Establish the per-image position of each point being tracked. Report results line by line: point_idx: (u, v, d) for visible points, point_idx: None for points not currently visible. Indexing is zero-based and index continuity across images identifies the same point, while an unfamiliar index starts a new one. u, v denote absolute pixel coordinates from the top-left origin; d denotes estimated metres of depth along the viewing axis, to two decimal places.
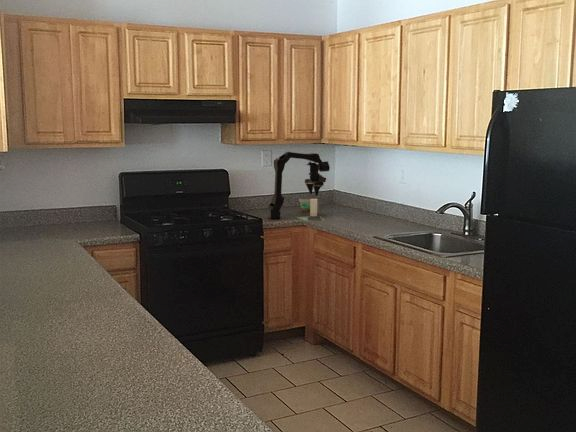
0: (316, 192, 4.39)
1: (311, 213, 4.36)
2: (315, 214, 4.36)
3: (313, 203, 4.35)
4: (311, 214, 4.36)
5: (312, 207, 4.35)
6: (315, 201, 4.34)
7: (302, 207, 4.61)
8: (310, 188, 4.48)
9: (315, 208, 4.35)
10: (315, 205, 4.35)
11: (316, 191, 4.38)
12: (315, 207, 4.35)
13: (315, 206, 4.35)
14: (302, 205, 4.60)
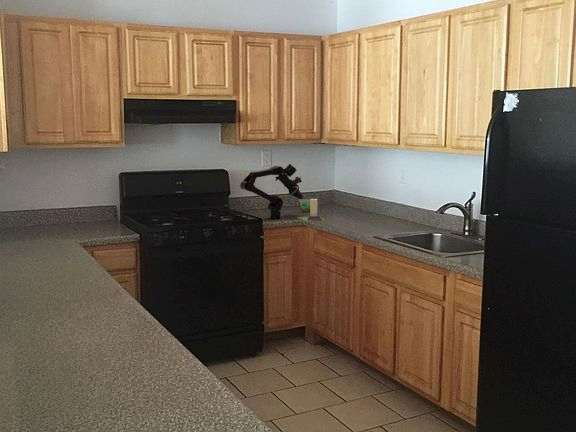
0: (299, 197, 4.31)
1: (311, 213, 4.36)
2: (315, 214, 4.36)
3: (313, 203, 4.35)
4: (311, 214, 4.36)
5: (312, 207, 4.35)
6: (315, 201, 4.34)
7: (302, 207, 4.61)
8: None
9: (315, 208, 4.35)
10: (315, 205, 4.35)
11: (298, 196, 4.31)
12: (315, 207, 4.35)
13: (315, 206, 4.35)
14: (302, 205, 4.60)
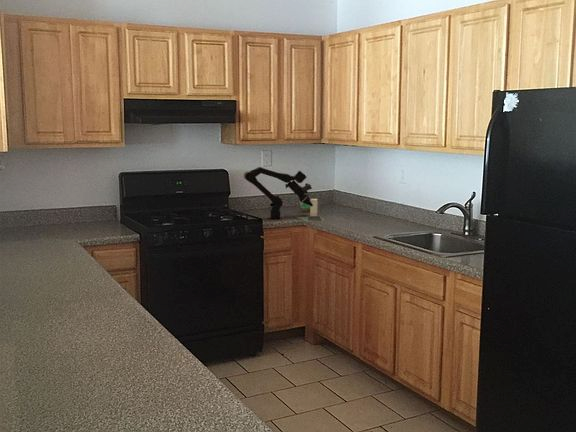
0: (309, 204, 4.32)
1: (311, 213, 4.36)
2: (315, 214, 4.36)
3: (313, 203, 4.35)
4: (311, 214, 4.36)
5: (312, 207, 4.35)
6: (315, 201, 4.34)
7: (302, 207, 4.61)
8: None
9: (315, 208, 4.35)
10: (315, 205, 4.35)
11: (308, 203, 4.32)
12: (315, 207, 4.35)
13: (315, 206, 4.35)
14: (302, 205, 4.60)
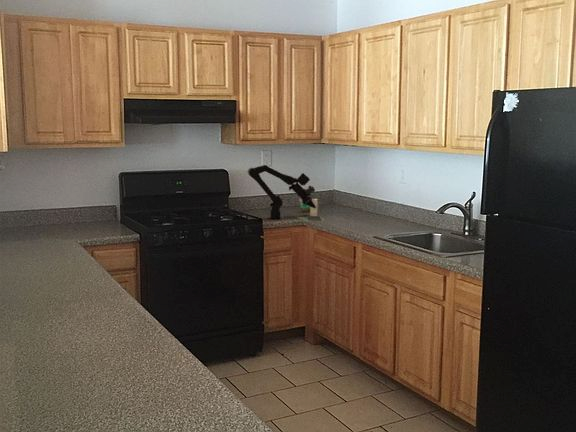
0: (312, 206, 4.34)
1: (311, 213, 4.36)
2: (315, 214, 4.36)
3: None
4: (311, 214, 4.36)
5: (312, 207, 4.35)
6: (315, 201, 4.34)
7: (302, 207, 4.61)
8: None
9: (315, 208, 4.35)
10: (315, 205, 4.35)
11: (311, 205, 4.34)
12: None
13: None
14: (302, 205, 4.60)
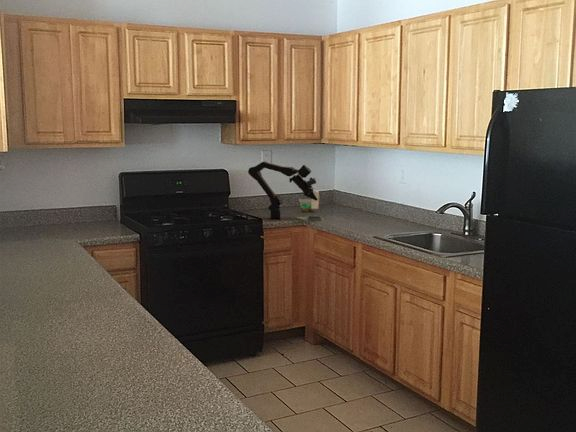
0: (314, 198, 4.26)
1: (312, 205, 4.28)
2: (316, 206, 4.28)
3: None
4: (312, 206, 4.28)
5: (313, 199, 4.27)
6: (316, 193, 4.27)
7: (302, 207, 4.61)
8: None
9: None
10: (316, 197, 4.27)
11: (313, 197, 4.26)
12: None
13: None
14: (302, 205, 4.60)
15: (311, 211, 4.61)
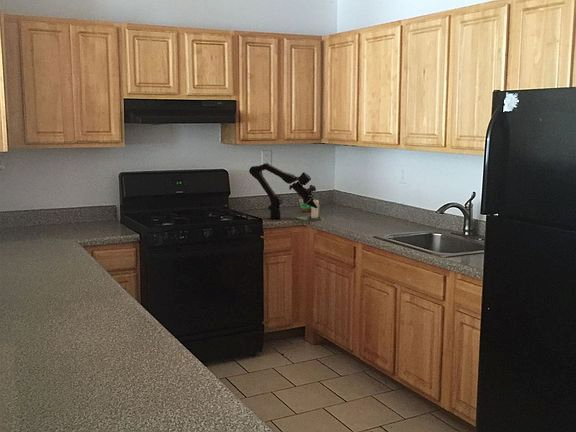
0: (313, 206, 4.24)
1: (312, 215, 4.28)
2: (316, 216, 4.28)
3: None
4: (312, 216, 4.28)
5: (313, 208, 4.27)
6: (316, 203, 4.27)
7: (302, 207, 4.61)
8: None
9: (316, 210, 4.27)
10: None
11: (312, 205, 4.24)
12: (316, 209, 4.27)
13: (316, 208, 4.27)
14: (302, 205, 4.60)
15: None
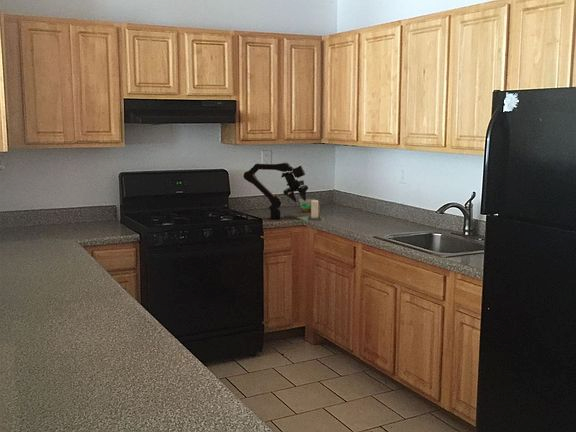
0: (304, 197, 4.31)
1: (312, 215, 4.28)
2: (316, 216, 4.28)
3: (314, 205, 4.27)
4: (312, 216, 4.28)
5: (313, 208, 4.27)
6: (316, 203, 4.27)
7: (302, 207, 4.61)
8: (293, 197, 4.38)
9: (316, 210, 4.27)
10: (316, 207, 4.27)
11: (304, 197, 4.30)
12: (316, 209, 4.27)
13: (316, 208, 4.27)
14: (302, 205, 4.60)
15: None
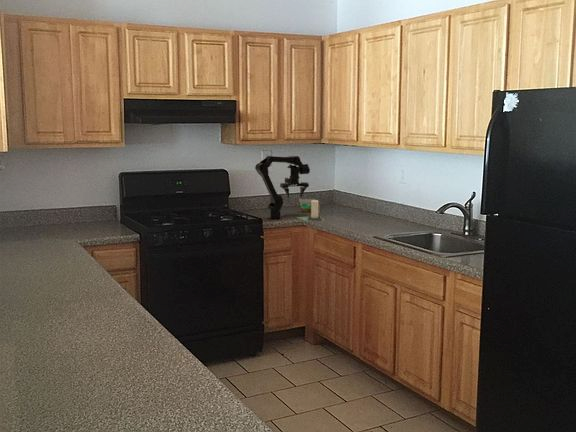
0: None
1: (312, 215, 4.28)
2: (316, 216, 4.28)
3: (314, 205, 4.27)
4: (312, 216, 4.28)
5: (313, 208, 4.27)
6: (316, 203, 4.27)
7: (302, 207, 4.61)
8: None
9: (316, 210, 4.27)
10: (316, 207, 4.27)
11: None
12: (316, 209, 4.27)
13: (316, 208, 4.27)
14: (302, 205, 4.60)
15: None
